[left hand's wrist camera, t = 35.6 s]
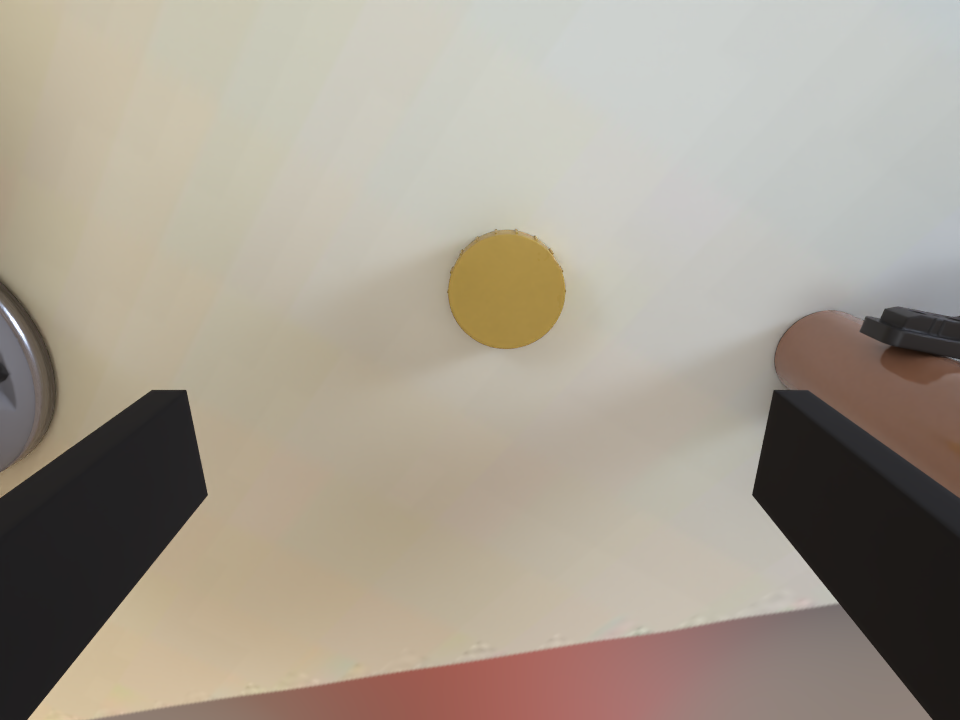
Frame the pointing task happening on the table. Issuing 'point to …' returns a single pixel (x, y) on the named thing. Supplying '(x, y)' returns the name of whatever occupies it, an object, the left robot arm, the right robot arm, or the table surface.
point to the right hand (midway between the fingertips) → (846, 392)
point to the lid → (506, 289)
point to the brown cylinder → (879, 389)
